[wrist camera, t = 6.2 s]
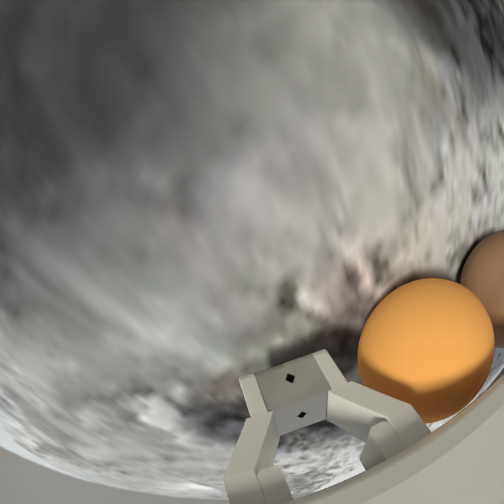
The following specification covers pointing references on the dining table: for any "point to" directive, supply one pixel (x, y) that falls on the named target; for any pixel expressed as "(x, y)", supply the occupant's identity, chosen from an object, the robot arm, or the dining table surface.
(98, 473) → the dining table surface
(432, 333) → the orange ball
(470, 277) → the walnut ball
